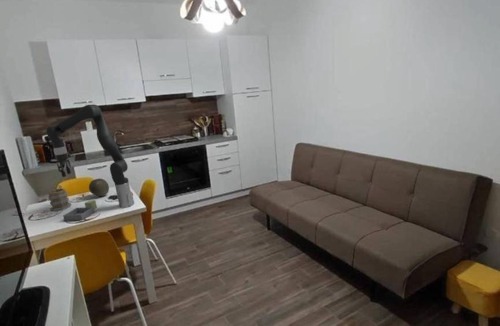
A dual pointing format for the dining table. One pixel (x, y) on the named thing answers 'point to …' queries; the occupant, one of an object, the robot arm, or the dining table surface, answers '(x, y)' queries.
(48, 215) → the dining table surface
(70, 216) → the bin
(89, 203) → the olive block
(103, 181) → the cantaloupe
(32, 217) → the dining table surface
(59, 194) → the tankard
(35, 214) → the dining table surface
